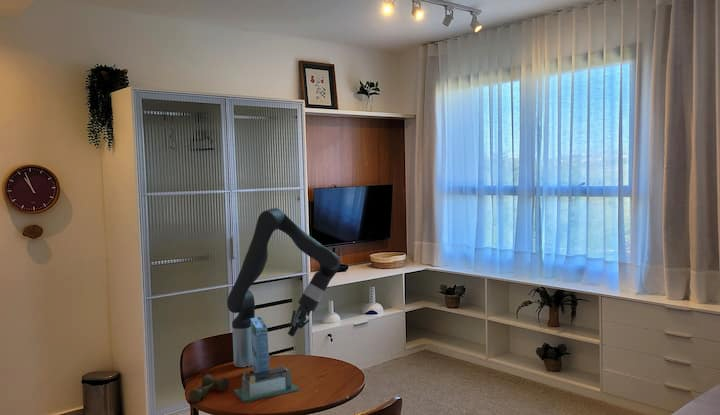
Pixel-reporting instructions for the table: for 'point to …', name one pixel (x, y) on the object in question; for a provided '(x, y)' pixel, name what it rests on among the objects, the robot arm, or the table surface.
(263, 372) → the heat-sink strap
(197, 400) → the kendama
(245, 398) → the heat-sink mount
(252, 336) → the gum box
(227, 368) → the table surface
